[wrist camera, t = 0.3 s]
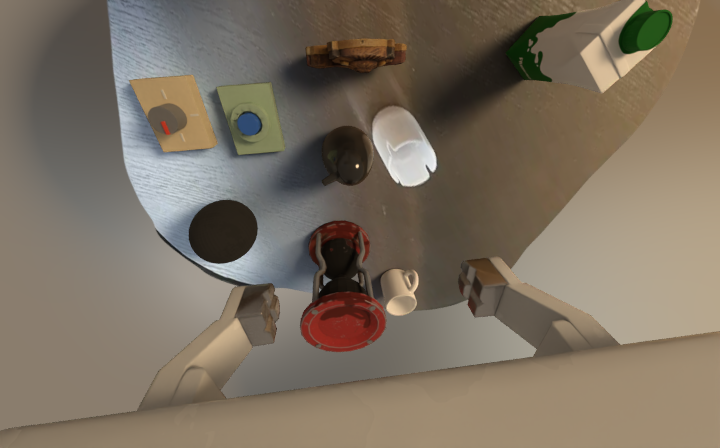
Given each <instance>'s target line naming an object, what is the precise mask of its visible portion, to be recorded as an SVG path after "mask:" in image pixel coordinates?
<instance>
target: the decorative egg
mask: <svg viewBox="0 0 720 448" xmlns="http://www.w3.org/2000/svg"><path fill="white" fill-rule="evenodd" d="M257 230H258V227H257V221H256V218H255V216H254V214H253V213H252V211H251V210H250V209H249V208H248V207H247V206H245V205H244V204H242V203H240V202H237V201H233V200H220V201H216V202H213V203H211V204H208V205H207V206H205V207H204V208H202V209H201V210H200V211H199V212H198V213H197V214H196V215H195V217H194V218H193V220H192V222H191V225H190V228H189V242H190V245H191V247H192V249H193V251H194V252H195V253H196V254H197V255H198V256H199V257H200V258H202V259H204V260H205V261H208V262H211V263H218V264H221V263H228V262H232V261H235V260H237V259H239V258H240V257H242V256H243V255H245V254H246V253H247V252H248V251H249V250H250V248H251V247H252V246H253V244H254V242H255V240H256V236H257Z"/></svg>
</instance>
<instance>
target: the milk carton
mask: <svg viewBox="0 0 720 448" xmlns="http://www.w3.org/2000/svg"><path fill="white" fill-rule="evenodd" d="M672 20H673V18H672V14H671V12H670V11H668V10H657V11H653V10H652V9H650V8H649V6H648V3H647V1H645V0H621V1H618V2H615V3H613V4H610V5H607V6H604V7H601V8H596V9H590V10H584V11H579V12H573V13H567V14H561V15H551V16H539V17H538V18H537V19H536V20H535V21H534V22H533V24H532V25H531V26H530V27H529V28H528V29H527V30H526V31H525V32H524V33H523V34H522V36H521V37H520V38H519V39H518V40H517V41H516V42H515V43H514V44H513V45H512V46H511V48H510V49H509V50H508V51H507V52H506V55H507V56H508V57H509V59H510V60H511V62H512V63H513V65H514V66H515V68H516V69H517V70H518V72H519V73H520V75H521V76H522V78H523V79H524V80H539V81H547V82H555V83H563V84H570V85H574V86H578V87H582V88H585V89H589V90H592V91H596V92H599V93H603V92H604V91H605V90H607V89H608V88H609V87H610V86H611V85H612V84H613V83H615V82H616V81H617V80H618V79H619V78H622V77H623V76H624V75H625V74H626V73H628V72H629V70H630V69H631V68H633V67H634V66H635V65H636V64H637V63H638V62H639V61H640V60H641V59H643V58H644V57H645V56H646V55H647V54H648V53H649V52H650V51H652V50H653V49H654V48H655V47H656V46H657V45H658V44H659V43H660V42H661V41H662V40H663V39H664V38H665V37H666V35H667V34H668V32H669V30H670V28H671V25H672Z"/></svg>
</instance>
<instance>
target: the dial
mask: <svg viewBox="0 0 720 448" xmlns="http://www.w3.org/2000/svg"><path fill="white" fill-rule="evenodd" d="M148 120H149V122H150V124H151V125H152V127H153V128H154V129H155V130H157V131H158V132H160V133H162V134H166V135H170V134H173V133H175V132H177V131H179V130H181V129H183V128H184V127H185V126H186V124H187V117H186V114H185V113H184V111H183V110H182V109H181V108H180V107H178V106H177V105H174V104H171V103H166V104H163V105H160V106H156V107H153V108H151V109H150V110H149V112H148Z"/></svg>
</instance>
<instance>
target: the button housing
mask: <svg viewBox="0 0 720 448" xmlns="http://www.w3.org/2000/svg"><path fill="white" fill-rule="evenodd" d="M216 88H217V91H218V94H219V97H220V100H221V103H222V106H223V110H224V113H225V116H226V119H227V122H228V125H229V128H230V131H231V134H232V137H233V140H234V143H235V146H236V150H237V153H238V155H244V154H255V153H266V152H277V151H284V149H285V144H284V139H283V135H282V130H281V126H280V121H279V117H278V112H277V108H276V103H275V98H274V94H273V89H272V85H271V82H266V83H253V84H240V85H226V86H219V87H216ZM244 113H253V114H254V115H256V116H257V117H258V118H259V120H260V123H261V127H260V130H259V131H258V132H257V133H256V134H255V135H252V136H249V135H245V134H244V133H242V132H241V131H240V130H239V128H238V125H237V121H238V118H239V117H240V116H241V115H243V114H244Z"/></svg>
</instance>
